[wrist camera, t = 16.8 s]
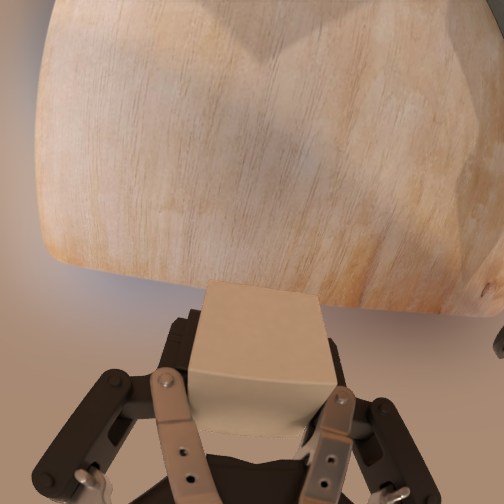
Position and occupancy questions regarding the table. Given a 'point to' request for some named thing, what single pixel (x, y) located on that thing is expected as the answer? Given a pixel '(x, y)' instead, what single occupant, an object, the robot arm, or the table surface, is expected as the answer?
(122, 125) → the table surface
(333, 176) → the table surface
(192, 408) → the tan cube
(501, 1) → the grey box
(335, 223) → the table surface
